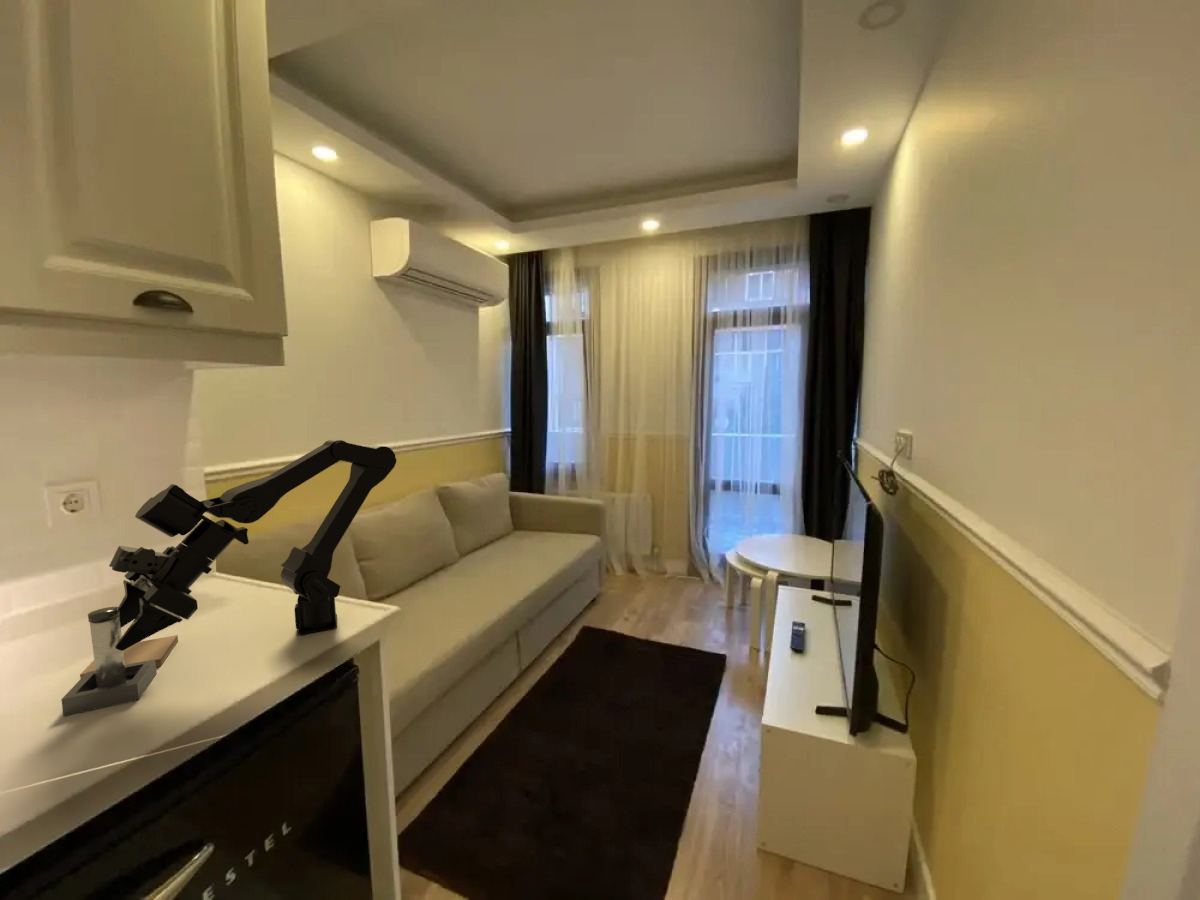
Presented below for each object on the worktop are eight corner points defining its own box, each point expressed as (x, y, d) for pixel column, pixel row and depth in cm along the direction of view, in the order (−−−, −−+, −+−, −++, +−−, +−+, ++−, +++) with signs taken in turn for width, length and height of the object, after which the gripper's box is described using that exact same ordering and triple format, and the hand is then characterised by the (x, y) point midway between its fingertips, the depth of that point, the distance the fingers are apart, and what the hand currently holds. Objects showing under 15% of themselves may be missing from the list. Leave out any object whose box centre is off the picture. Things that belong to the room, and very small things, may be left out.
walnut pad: (178, 641, 94) (177, 634, 94) (161, 665, 85) (160, 659, 85) (106, 654, 89) (105, 647, 89) (80, 681, 81) (80, 674, 81)
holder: (156, 673, 83) (155, 659, 82) (138, 699, 75) (137, 683, 75) (88, 687, 79) (87, 672, 79) (63, 716, 72) (61, 699, 71)
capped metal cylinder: (139, 681, 80) (130, 602, 79) (128, 697, 76) (118, 613, 75) (98, 690, 78) (89, 608, 77) (85, 706, 74) (74, 620, 73)
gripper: (136, 517, 85) (47, 601, 78) (163, 534, 74) (61, 634, 66) (198, 552, 92) (122, 632, 85) (231, 572, 80) (146, 667, 73)
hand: (112, 640), depth 77 cm, fingers open, 9 cm apart
